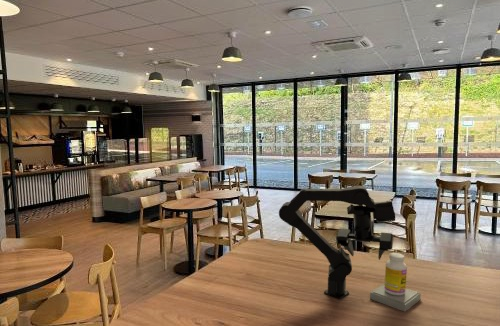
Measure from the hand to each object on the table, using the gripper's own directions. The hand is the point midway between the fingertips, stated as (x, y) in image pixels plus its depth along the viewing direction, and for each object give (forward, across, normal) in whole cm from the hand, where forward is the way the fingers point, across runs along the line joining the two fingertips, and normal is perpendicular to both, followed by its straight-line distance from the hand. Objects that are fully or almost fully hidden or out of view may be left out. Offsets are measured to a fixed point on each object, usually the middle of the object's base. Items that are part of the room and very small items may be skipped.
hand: (366, 257), depth 130 cm
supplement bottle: (+7, -10, +8) cm, 14 cm away
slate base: (+10, -10, +8) cm, 16 cm away
